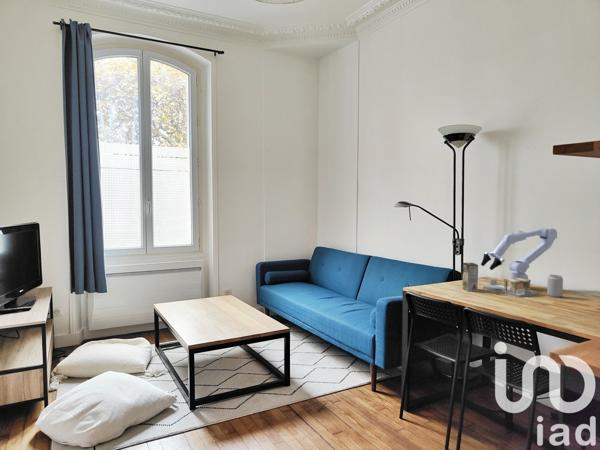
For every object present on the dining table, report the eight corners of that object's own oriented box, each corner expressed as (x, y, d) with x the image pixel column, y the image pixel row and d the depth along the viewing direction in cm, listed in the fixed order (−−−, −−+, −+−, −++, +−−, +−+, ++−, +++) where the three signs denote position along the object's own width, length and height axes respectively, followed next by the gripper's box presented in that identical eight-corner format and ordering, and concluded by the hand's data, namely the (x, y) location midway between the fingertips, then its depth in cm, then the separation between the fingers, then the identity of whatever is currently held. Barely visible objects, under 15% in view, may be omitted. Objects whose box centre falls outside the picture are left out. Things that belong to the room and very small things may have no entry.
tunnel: (519, 289, 254) (520, 277, 253) (530, 291, 247) (530, 279, 247) (503, 291, 249) (504, 279, 249) (513, 293, 242) (514, 281, 242)
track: (500, 286, 268) (500, 283, 268) (537, 295, 243) (537, 291, 243) (482, 288, 263) (482, 284, 263) (519, 297, 238) (519, 292, 238)
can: (561, 295, 243) (562, 274, 242) (563, 298, 236) (564, 276, 235) (546, 294, 246) (547, 273, 245) (547, 297, 239) (548, 275, 239)
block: (516, 288, 251) (516, 281, 251) (523, 290, 247) (523, 282, 246) (511, 289, 249) (511, 281, 249) (517, 290, 245) (517, 283, 245)
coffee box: (461, 288, 263) (462, 262, 262) (472, 288, 263) (472, 262, 262) (467, 291, 254) (467, 264, 253) (478, 291, 254) (478, 264, 253)
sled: (495, 285, 266) (495, 279, 266) (524, 292, 246) (525, 285, 246) (489, 285, 264) (489, 279, 264) (518, 292, 244) (518, 285, 244)
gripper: (488, 243, 270) (474, 260, 270) (505, 250, 257) (490, 267, 257) (494, 249, 273) (480, 266, 273) (511, 256, 259) (497, 273, 259)
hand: (486, 267), depth 265 cm, fingers open, 7 cm apart
